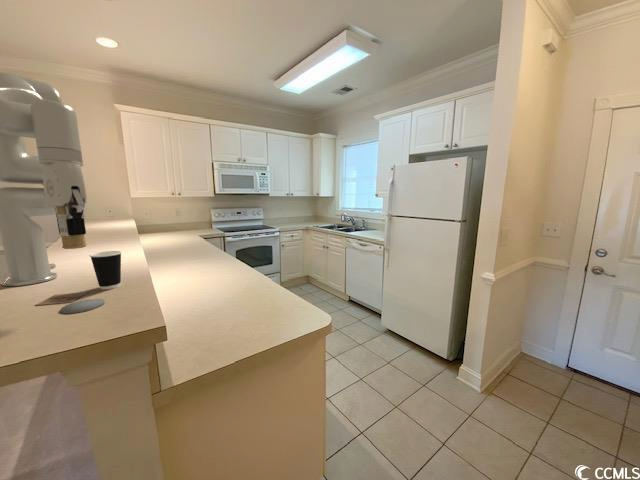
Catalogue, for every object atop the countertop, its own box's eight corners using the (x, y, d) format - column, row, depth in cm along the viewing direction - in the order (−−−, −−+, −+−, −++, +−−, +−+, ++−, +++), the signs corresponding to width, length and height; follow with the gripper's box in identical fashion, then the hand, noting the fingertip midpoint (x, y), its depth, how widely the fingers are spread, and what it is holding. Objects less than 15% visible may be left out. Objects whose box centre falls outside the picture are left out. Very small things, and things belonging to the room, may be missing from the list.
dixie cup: (87, 290, 80) (81, 255, 78) (111, 282, 88) (106, 250, 86) (109, 291, 79) (105, 256, 77) (131, 283, 87) (128, 251, 85)
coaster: (73, 302, 70) (73, 300, 70) (110, 299, 73) (110, 297, 73) (52, 315, 63) (52, 313, 62) (94, 311, 65) (94, 309, 65)
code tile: (55, 295, 76) (55, 294, 76) (88, 292, 78) (88, 291, 78) (35, 306, 68) (34, 305, 68) (72, 302, 71) (72, 301, 71)
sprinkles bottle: (91, 246, 67) (83, 193, 65) (70, 249, 63) (61, 193, 61) (78, 245, 68) (70, 193, 66) (57, 248, 64) (48, 193, 62)
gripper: (25, 158, 63) (38, 234, 65) (54, 153, 55) (68, 238, 58) (66, 162, 69) (76, 230, 72) (97, 157, 61) (107, 234, 64)
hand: (72, 233), depth 65 cm, fingers closed on sprinkles bottle, 4 cm apart
